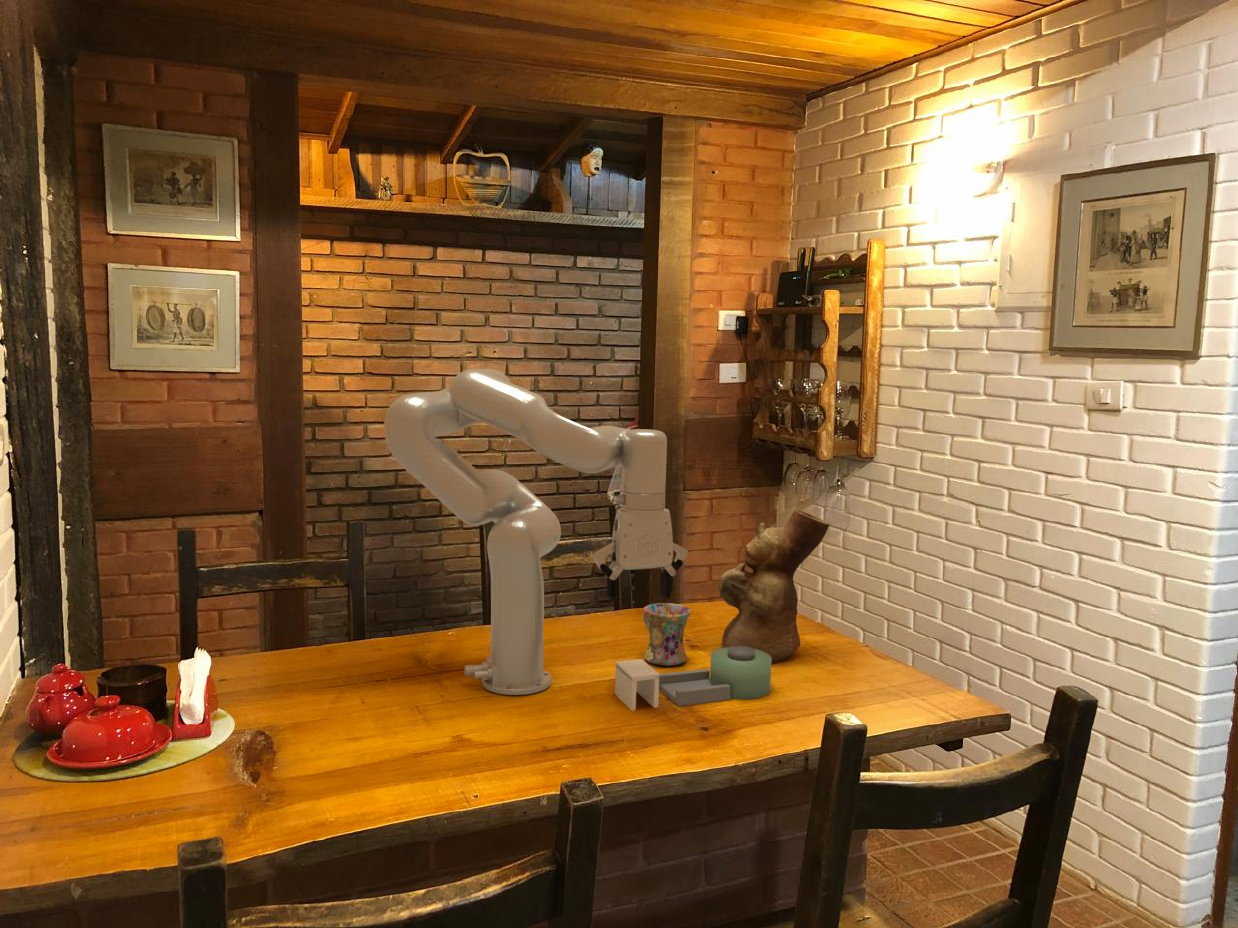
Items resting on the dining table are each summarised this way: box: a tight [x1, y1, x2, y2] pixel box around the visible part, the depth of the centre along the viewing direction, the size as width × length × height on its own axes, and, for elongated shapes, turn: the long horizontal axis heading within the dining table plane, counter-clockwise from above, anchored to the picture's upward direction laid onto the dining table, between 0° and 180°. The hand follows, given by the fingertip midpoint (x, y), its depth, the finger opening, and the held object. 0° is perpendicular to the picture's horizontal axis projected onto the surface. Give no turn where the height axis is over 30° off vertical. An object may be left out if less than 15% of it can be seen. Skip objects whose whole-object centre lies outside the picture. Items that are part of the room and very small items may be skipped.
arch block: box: [614, 658, 660, 711], centre depth 161 cm, size 8×5×6 cm, turn 21°
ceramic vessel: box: [718, 509, 830, 664], centre depth 187 cm, size 16×22×30 cm
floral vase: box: [642, 602, 692, 667], centre depth 183 cm, size 12×9×11 cm
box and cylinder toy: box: [659, 646, 772, 707], centre depth 166 cm, size 20×11×7 cm, turn 111°
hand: (639, 598), depth 159 cm, fingers open, 9 cm apart
